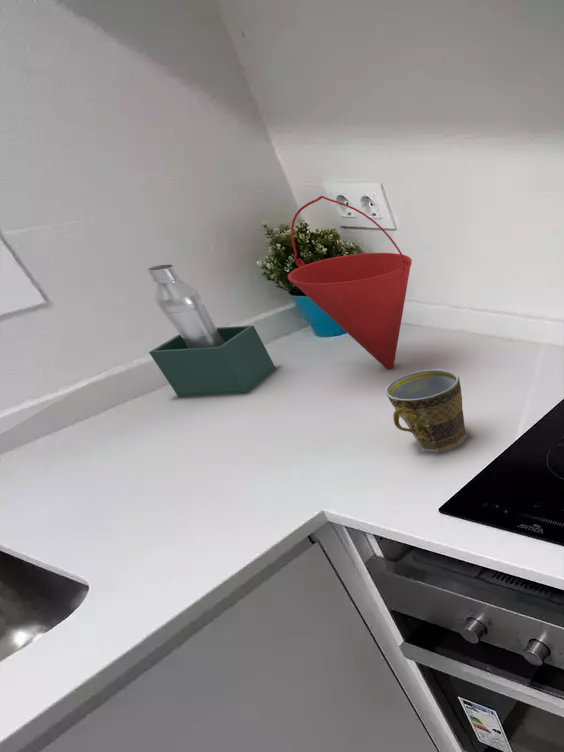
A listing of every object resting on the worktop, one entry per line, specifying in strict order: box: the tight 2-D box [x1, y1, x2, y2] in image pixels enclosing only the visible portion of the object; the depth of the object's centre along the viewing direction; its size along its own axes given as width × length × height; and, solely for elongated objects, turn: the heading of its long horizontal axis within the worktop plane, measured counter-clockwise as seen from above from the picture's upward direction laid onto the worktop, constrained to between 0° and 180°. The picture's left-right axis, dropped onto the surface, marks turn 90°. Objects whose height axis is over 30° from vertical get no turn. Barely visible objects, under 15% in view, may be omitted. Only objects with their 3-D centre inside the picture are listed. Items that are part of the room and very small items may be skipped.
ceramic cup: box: [385, 368, 467, 454], centre depth 81 cm, size 13×10×10 cm
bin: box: [148, 325, 277, 398], centre depth 101 cm, size 12×11×9 cm
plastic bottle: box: [147, 264, 225, 349], centre depth 97 cm, size 6×7×20 cm
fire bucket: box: [287, 195, 413, 370], centre depth 98 cm, size 22×20×30 cm
